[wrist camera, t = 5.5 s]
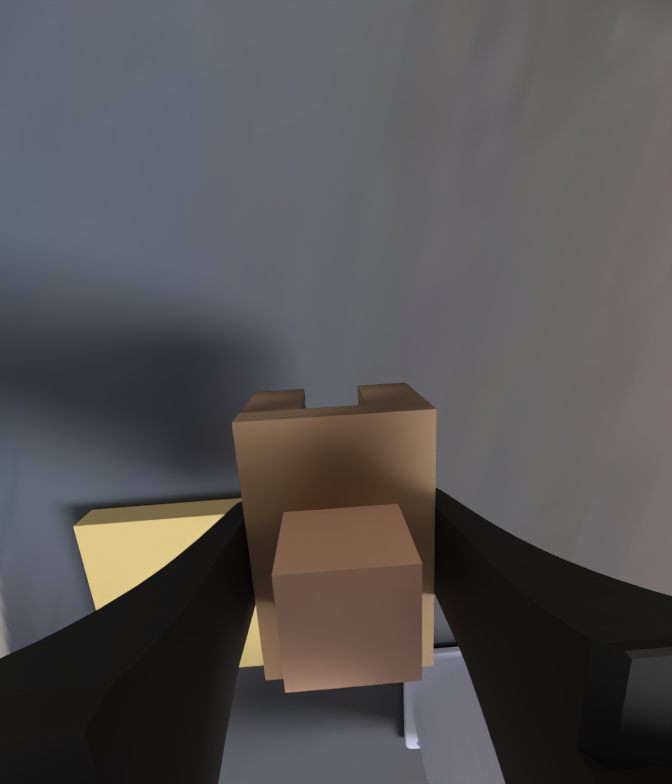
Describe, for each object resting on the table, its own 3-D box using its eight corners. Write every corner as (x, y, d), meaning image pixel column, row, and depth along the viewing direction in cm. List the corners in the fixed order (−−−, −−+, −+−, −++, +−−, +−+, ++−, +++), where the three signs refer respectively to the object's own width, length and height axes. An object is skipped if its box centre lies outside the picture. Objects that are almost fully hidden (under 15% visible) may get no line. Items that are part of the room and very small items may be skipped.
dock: (292, 494, 19) (289, 509, 18) (306, 637, 22) (305, 661, 20) (92, 509, 19) (73, 526, 18) (128, 653, 21) (114, 678, 20)
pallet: (405, 382, 12) (436, 409, 8) (407, 583, 13) (433, 665, 10) (255, 392, 11) (231, 422, 8) (278, 593, 13) (265, 680, 10)
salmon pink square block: (398, 503, 9) (422, 563, 7) (399, 599, 10) (421, 680, 8) (283, 511, 9) (271, 575, 7) (293, 607, 10) (285, 693, 7)
